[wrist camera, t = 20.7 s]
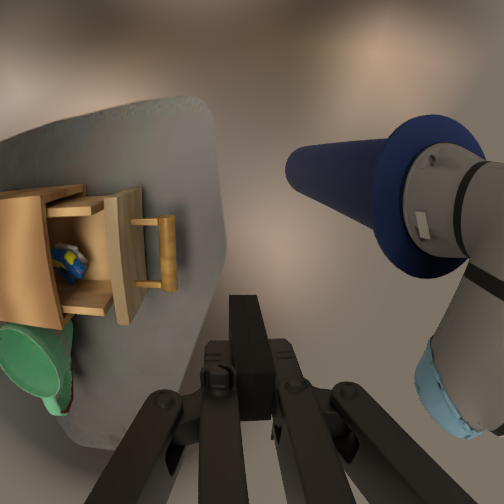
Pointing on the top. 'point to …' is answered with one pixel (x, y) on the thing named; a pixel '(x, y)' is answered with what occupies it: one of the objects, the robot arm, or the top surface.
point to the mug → (39, 362)
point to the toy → (68, 261)
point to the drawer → (110, 252)
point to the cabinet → (30, 257)
